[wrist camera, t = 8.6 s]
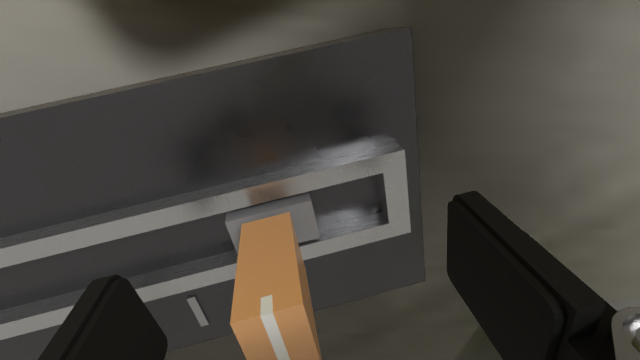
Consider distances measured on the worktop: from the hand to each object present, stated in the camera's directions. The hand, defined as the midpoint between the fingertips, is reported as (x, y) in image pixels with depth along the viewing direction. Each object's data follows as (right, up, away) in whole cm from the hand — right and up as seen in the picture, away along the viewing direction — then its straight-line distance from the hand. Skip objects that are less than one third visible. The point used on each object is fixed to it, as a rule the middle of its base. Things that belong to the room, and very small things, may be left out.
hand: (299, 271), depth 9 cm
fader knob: (-1, +1, +5) cm, 5 cm away
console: (-7, +1, +7) cm, 10 cm away
